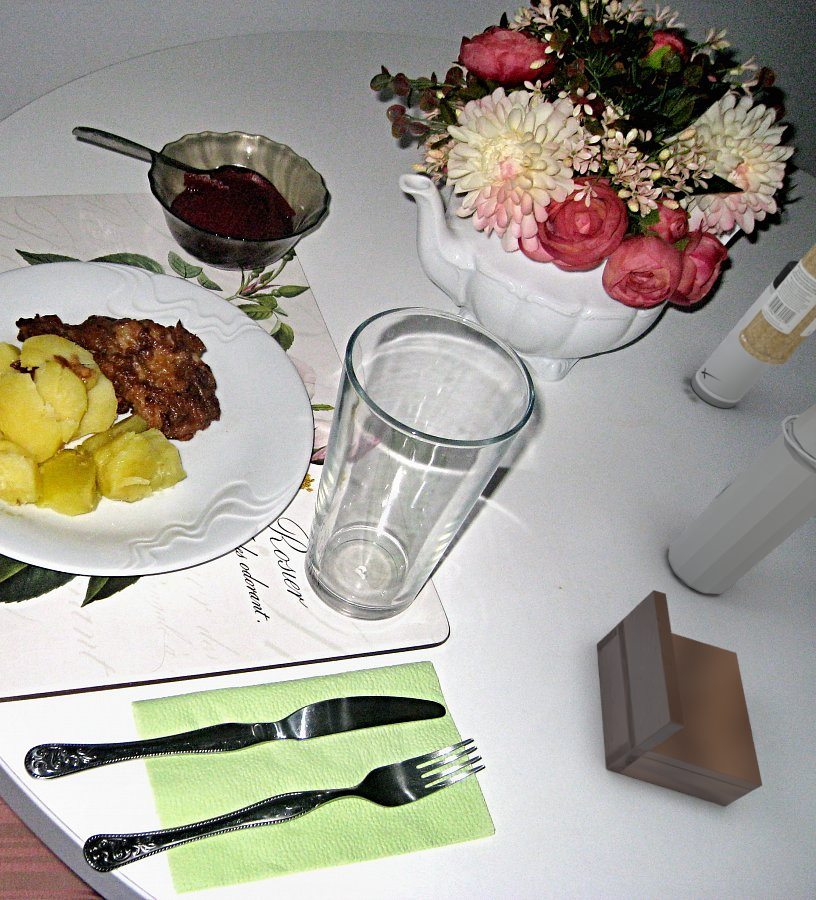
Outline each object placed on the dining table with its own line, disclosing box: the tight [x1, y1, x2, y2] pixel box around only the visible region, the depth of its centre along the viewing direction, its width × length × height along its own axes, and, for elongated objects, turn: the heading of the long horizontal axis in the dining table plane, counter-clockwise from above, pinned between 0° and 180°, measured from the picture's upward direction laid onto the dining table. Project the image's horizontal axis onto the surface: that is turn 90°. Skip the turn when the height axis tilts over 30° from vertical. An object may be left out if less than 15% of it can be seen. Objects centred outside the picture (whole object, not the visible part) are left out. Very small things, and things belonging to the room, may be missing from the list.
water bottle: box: [667, 402, 816, 595], centre depth 88 cm, size 9×8×25 cm
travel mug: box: [691, 260, 800, 409], centre depth 111 cm, size 6×7×20 cm
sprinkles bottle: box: [739, 242, 816, 366], centre depth 73 cm, size 5×5×13 cm
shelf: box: [596, 589, 763, 807], centre depth 79 cm, size 11×13×10 cm
